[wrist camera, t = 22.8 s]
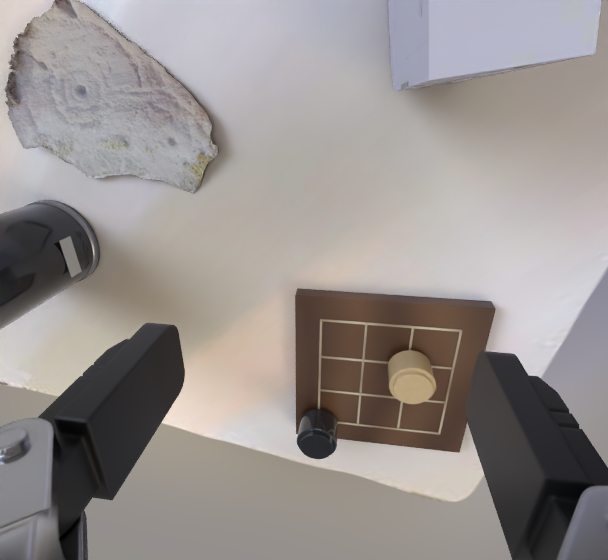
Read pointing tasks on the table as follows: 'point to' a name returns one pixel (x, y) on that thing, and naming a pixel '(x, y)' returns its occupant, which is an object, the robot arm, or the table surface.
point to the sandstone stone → (411, 377)
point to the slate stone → (317, 434)
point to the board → (374, 361)
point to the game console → (485, 37)
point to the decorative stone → (104, 101)
